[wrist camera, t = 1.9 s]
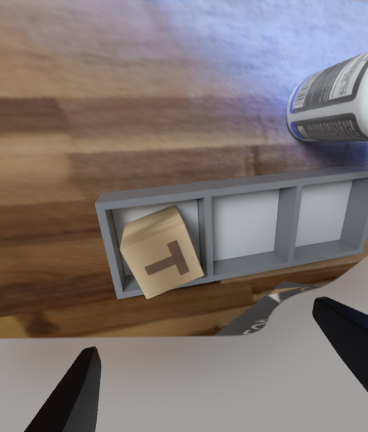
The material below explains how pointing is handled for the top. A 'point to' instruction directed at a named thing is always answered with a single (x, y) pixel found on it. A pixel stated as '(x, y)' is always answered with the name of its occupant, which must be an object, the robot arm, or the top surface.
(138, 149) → the top surface
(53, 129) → the top surface
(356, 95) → the pill bottle
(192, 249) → the letter cube
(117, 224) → the bay dish
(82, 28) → the top surface
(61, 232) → the top surface
